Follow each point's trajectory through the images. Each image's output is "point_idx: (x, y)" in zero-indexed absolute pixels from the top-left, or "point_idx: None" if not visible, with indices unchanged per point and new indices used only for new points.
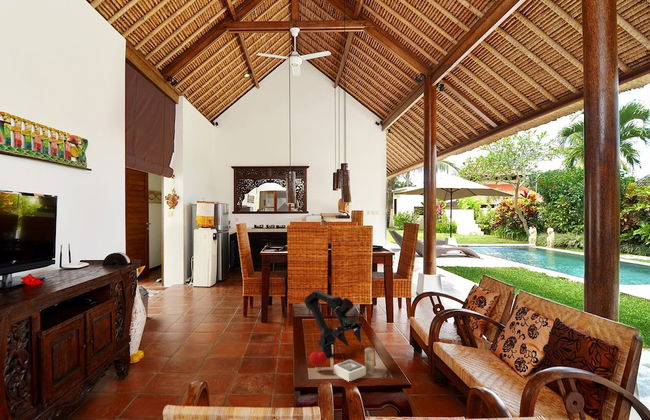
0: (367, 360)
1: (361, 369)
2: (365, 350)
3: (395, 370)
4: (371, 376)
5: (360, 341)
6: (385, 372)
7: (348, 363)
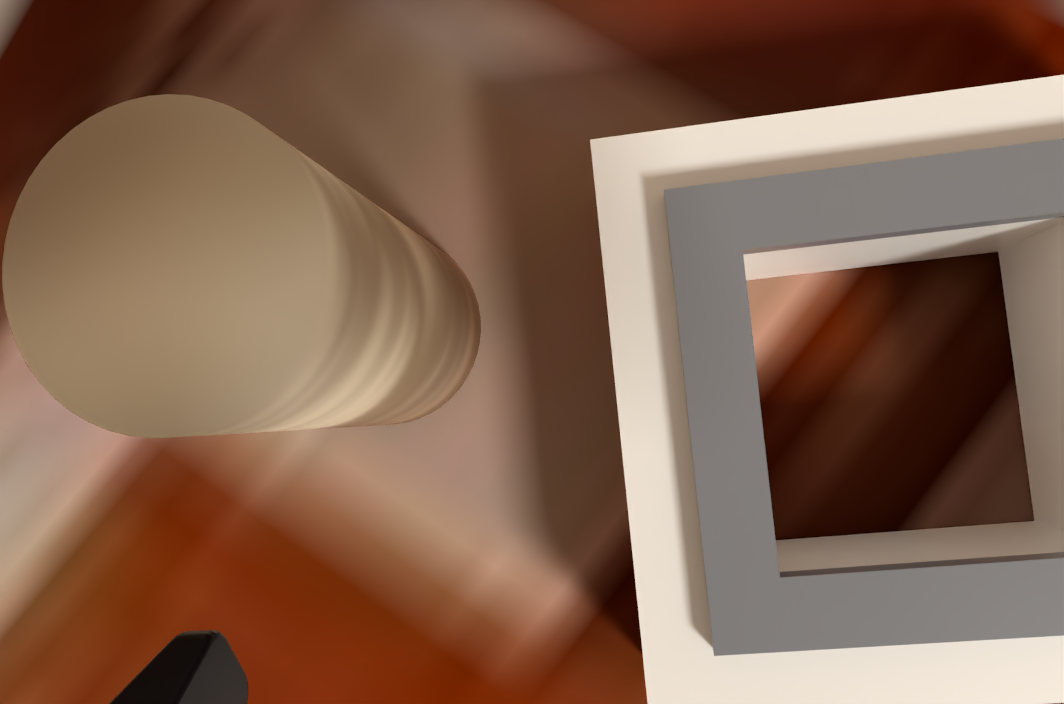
0: (410, 254)
1: (740, 125)
2: (327, 298)
3: (6, 49)
4: (547, 80)
5: (217, 638)
6: (210, 78)
7: (828, 566)
